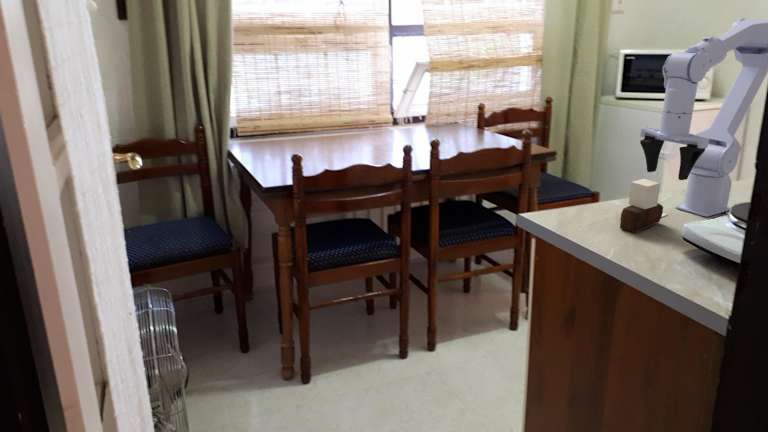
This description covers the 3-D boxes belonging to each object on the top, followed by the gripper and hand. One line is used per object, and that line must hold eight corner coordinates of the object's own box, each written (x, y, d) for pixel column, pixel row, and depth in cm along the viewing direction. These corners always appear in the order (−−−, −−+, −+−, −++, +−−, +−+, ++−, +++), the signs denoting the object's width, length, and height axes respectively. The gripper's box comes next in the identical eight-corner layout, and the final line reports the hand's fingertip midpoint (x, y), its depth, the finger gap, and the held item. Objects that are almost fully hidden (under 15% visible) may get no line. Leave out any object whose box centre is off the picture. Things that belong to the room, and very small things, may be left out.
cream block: (640, 200, 128) (643, 178, 127) (657, 205, 125) (660, 183, 124) (628, 204, 127) (631, 181, 125) (644, 209, 123) (647, 186, 122)
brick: (636, 234, 123) (639, 213, 121) (618, 229, 126) (621, 208, 124) (661, 221, 129) (664, 201, 128) (644, 217, 132) (647, 197, 130)
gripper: (635, 108, 127) (626, 170, 131) (698, 118, 115) (685, 185, 119) (656, 106, 130) (647, 166, 135) (719, 115, 118) (707, 181, 123)
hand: (666, 175), depth 127 cm, fingers open, 7 cm apart
